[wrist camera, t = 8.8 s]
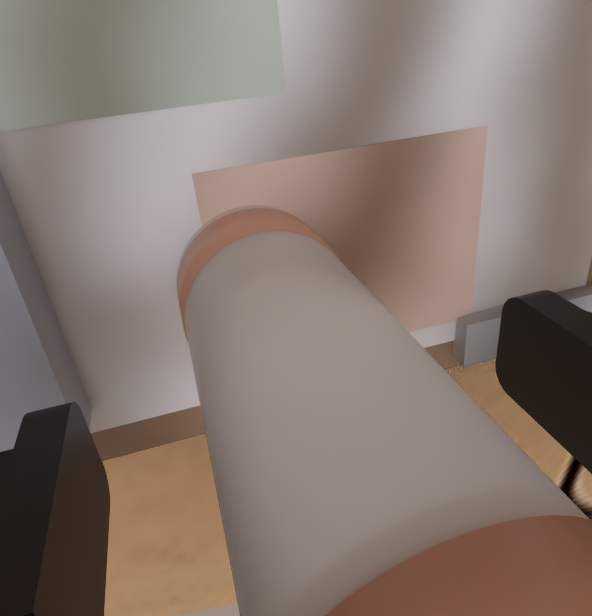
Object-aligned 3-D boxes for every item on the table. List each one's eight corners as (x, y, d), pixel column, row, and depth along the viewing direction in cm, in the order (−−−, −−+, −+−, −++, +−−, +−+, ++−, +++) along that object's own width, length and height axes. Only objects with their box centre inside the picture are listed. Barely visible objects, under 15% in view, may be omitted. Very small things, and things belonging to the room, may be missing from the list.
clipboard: (730, -283, 11) (794, -318, 10) (594, 318, 19) (622, 335, 18) (-319, -307, 7) (-398, -368, 6) (44, 462, 15) (37, 495, 14)
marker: (320, 188, 13) (1135, 807, 2) (330, 326, 15) (798, 988, 4) (157, 218, 12) (321, 1354, 2) (190, 359, 14) (362, 1270, 4)
